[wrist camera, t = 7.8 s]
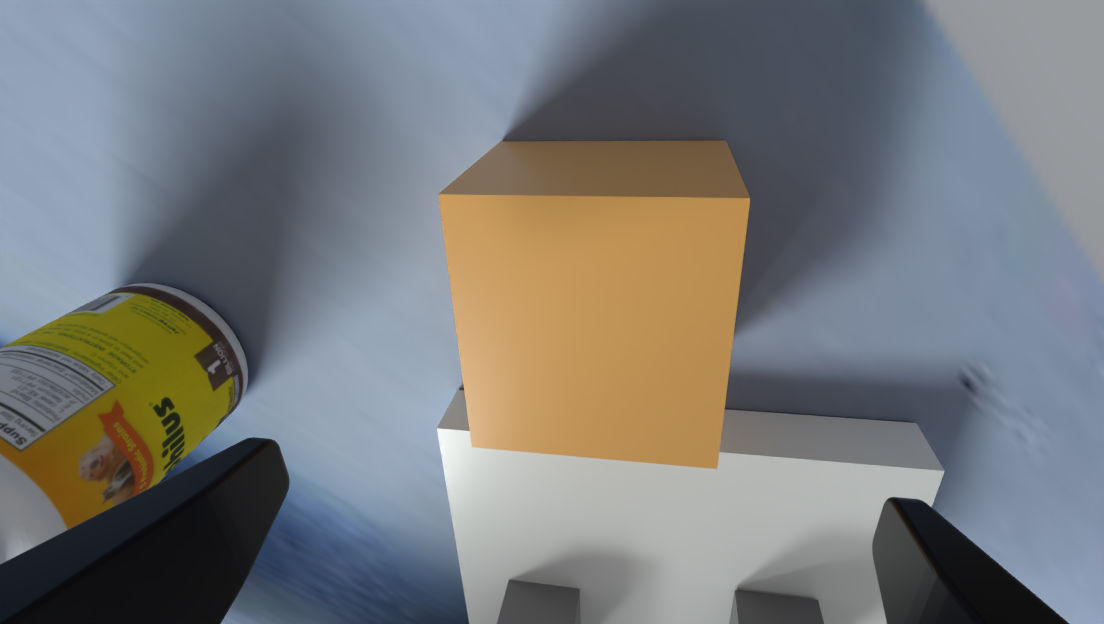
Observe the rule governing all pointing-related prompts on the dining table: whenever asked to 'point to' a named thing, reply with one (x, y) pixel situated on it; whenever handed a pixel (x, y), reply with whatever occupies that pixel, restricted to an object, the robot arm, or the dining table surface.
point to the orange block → (597, 296)
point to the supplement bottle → (108, 406)
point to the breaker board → (681, 522)
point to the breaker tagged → (773, 609)
